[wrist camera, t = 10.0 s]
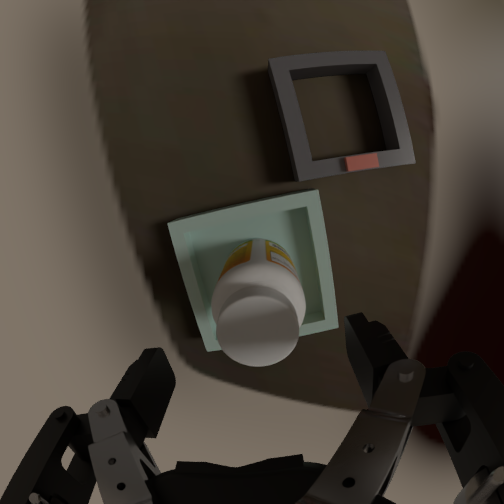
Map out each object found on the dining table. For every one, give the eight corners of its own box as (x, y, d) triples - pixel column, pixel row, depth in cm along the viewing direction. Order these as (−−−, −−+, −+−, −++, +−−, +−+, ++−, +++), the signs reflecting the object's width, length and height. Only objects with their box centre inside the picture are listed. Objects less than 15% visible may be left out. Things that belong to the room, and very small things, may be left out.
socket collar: (267, 70, 19) (268, 56, 16) (374, 61, 18) (387, 48, 15) (295, 181, 21) (300, 181, 18) (401, 164, 21) (418, 163, 18)
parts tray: (176, 218, 22) (167, 223, 20) (312, 188, 21) (318, 189, 19) (211, 337, 25) (207, 351, 23) (332, 314, 24) (338, 327, 22)
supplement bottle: (226, 301, 23) (205, 376, 14) (224, 236, 22) (196, 280, 12) (292, 302, 23) (308, 377, 14) (295, 237, 22) (319, 281, 12)
